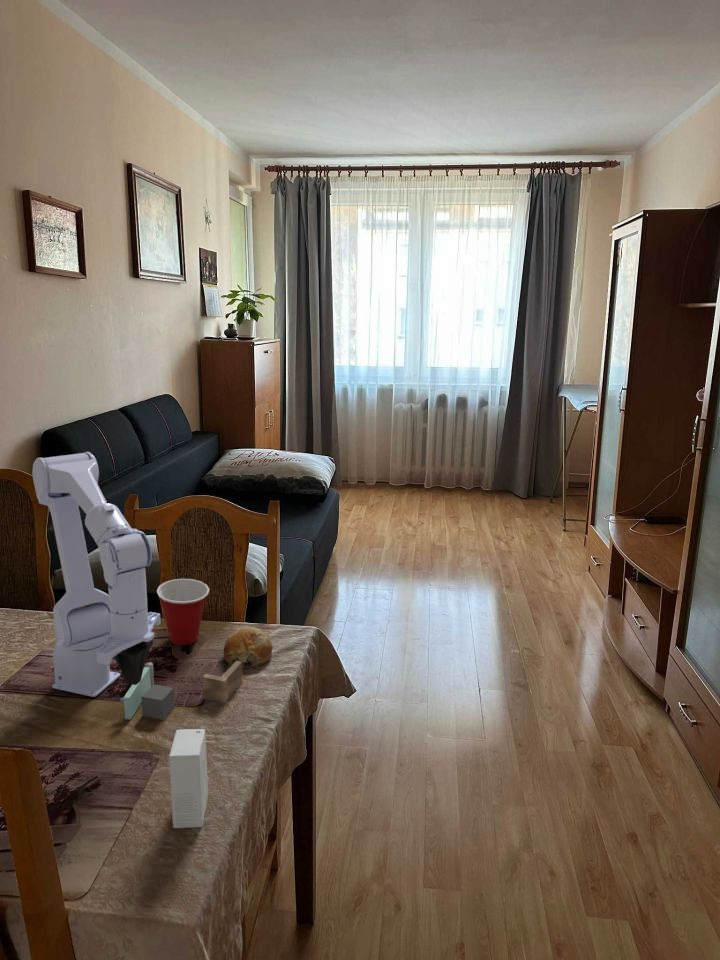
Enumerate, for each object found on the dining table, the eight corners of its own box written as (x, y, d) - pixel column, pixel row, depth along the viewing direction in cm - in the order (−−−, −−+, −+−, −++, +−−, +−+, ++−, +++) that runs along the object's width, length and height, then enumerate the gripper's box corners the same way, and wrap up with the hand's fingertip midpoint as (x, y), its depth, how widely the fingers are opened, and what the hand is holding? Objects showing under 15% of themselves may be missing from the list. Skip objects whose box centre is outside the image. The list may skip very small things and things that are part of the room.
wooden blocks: (130, 683, 128) (128, 662, 127) (151, 664, 135) (150, 644, 134) (225, 703, 123) (224, 681, 122) (242, 682, 130) (242, 661, 128)
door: (142, 681, 128) (141, 661, 127) (155, 682, 128) (154, 662, 127) (118, 718, 117) (116, 697, 116) (131, 719, 117) (130, 697, 116)
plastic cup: (186, 657, 138) (184, 603, 135) (148, 642, 143) (145, 591, 140) (221, 635, 147) (220, 585, 144) (184, 623, 152) (182, 574, 149)
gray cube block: (142, 716, 118) (141, 696, 117) (154, 703, 122) (153, 684, 121) (162, 720, 118) (161, 700, 116) (174, 707, 121) (173, 688, 120)
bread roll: (276, 673, 140) (287, 635, 141) (246, 674, 131) (257, 633, 132) (240, 658, 145) (251, 622, 146) (209, 658, 136) (220, 620, 137)
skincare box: (179, 798, 99) (176, 728, 96) (208, 797, 100) (206, 727, 97) (171, 829, 94) (168, 756, 90) (202, 828, 94) (200, 755, 91)
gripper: (122, 631, 100) (128, 711, 103) (174, 592, 113) (177, 664, 117) (82, 623, 101) (88, 702, 105) (138, 586, 115) (142, 657, 119)
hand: (133, 681), depth 111 cm, fingers closed
